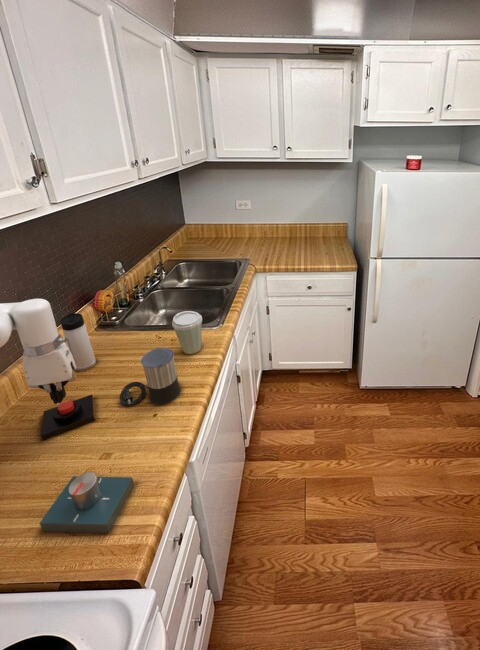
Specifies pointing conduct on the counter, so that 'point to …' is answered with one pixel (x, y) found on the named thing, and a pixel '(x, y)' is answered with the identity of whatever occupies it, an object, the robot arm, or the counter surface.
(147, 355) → the milk frother
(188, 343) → the disposable coffee cup
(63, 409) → the button
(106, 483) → the dial panel
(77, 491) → the dial knob
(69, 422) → the button box
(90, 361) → the travel mug
